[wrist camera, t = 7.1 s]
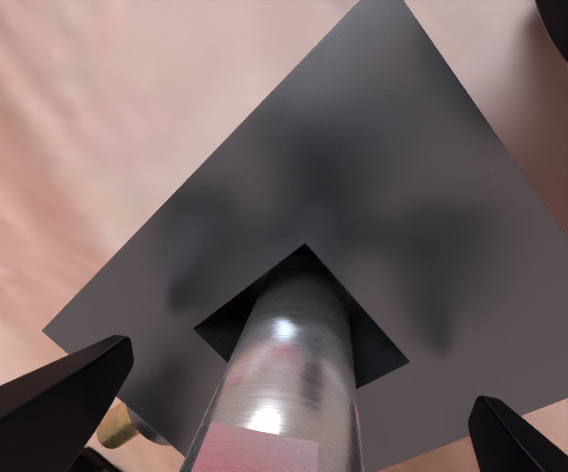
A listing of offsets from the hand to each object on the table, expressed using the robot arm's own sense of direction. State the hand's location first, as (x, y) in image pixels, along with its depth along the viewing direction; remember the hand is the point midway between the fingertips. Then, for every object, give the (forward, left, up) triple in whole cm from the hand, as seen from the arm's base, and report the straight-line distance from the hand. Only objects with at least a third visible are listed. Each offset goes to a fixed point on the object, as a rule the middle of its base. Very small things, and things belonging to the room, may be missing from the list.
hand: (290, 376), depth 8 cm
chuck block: (-3, 0, -6) cm, 7 cm away
